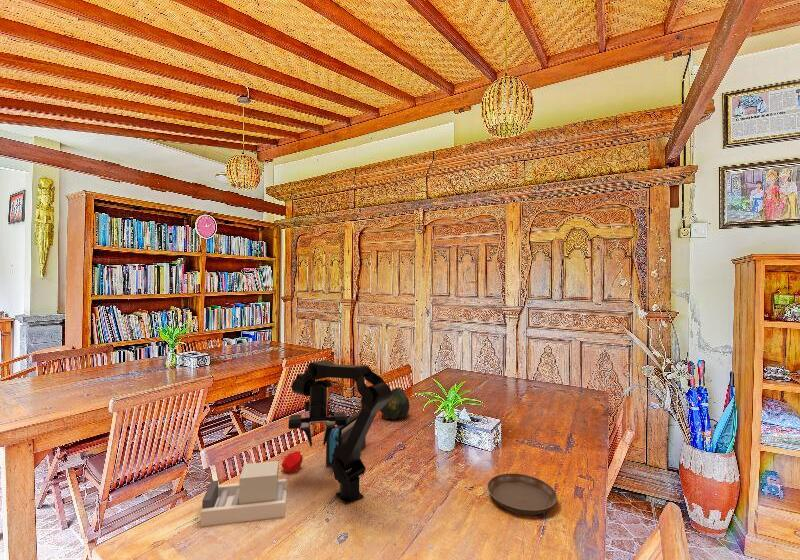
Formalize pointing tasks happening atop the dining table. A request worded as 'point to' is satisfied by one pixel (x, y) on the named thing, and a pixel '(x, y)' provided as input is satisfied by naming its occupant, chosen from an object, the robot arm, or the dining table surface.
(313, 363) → the robot arm
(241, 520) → the roller bed
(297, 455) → the apple
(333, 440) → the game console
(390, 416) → the squash
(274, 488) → the beige block
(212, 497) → the rubber stop
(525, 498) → the plant saucer
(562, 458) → the dining table surface
